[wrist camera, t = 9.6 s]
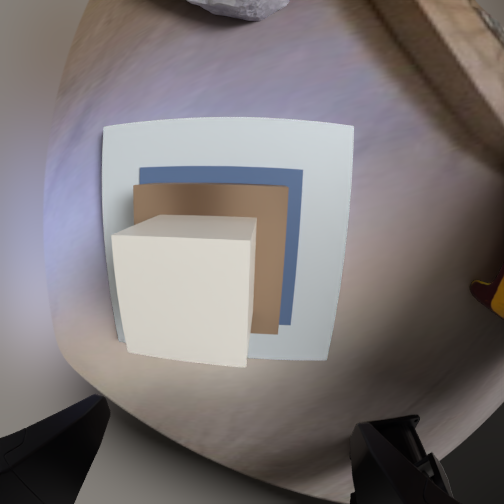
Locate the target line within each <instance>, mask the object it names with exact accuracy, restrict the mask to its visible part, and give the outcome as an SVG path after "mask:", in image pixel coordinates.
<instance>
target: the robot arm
mask: <svg viewBox="0 0 504 504" xmlns="http://www.w3.org/2000/svg"><path fill="white" fill-rule="evenodd" d="M109 418H110V409H109V406H108V403H107V400H106V398H105V397H104V396H102V395H98V394H93V395H91V396H89V397H87V398H85V399H83V400H82V401H80V402H78V403H76V404H74V405H72V406H70V407H68V408H66V409H64V410H62V411H60V412H58V413H56V414H54V415H52V416H50V417H47V418H45V419H43V420H41V421H39V422H37V423H35V424H33V425H31V426H29V427H27V428H24V429H22V430H20V431H17V432H15V433H13V434H10V435H8V436H5V437H2V438H0V504H74V503H75V500H76V498H77V496H78V493H79V491H80V489H81V487H82V484H83V482H84V480H85V478H86V475H87V473H88V471H89V469H90V467H91V464H92V462H93V460H94V458H95V456H96V454H97V452H98V449H99V447H100V445H101V442H102V439H103V436H104V432H105V430H106V427H107V424H108V421H109ZM419 421H420V417H419V415H415V416H409V417H404V418H398V419H392V420H385V421H377V422H370V423H368V422H362V423H357V424H356V426H355V428H354V431H353V433H352V435H351V438H350V448H351V452H350V459H351V463H352V477H353V483H354V488H355V492H353V493H351V499H350V504H462V503H460V502H458V501H457V500H455V499H454V498H453V495H452V492H451V488H450V485H449V481H448V478H447V476H446V474H445V472H444V469H443V467H442V465H441V463H440V462H439V461H438V459H437V458H436V457H435V455H434V454H433V453H432V452H431V453H430V454H428V455H427V454H426V452H425V450H424V448H423V445H422V443H421V441H420V439H419V436H418V434H417V432H416V430H415V427H416V426H417V424H418V422H419ZM433 474H434V476H432V477H429V476H431V475H433Z"/></svg>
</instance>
